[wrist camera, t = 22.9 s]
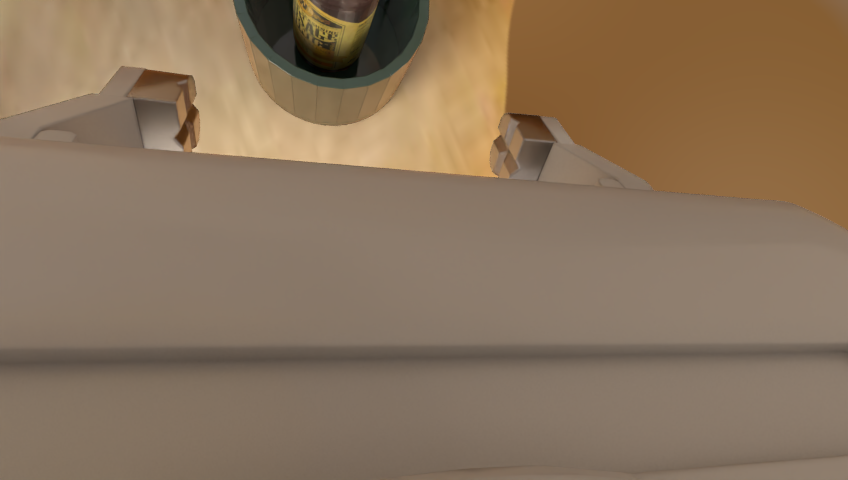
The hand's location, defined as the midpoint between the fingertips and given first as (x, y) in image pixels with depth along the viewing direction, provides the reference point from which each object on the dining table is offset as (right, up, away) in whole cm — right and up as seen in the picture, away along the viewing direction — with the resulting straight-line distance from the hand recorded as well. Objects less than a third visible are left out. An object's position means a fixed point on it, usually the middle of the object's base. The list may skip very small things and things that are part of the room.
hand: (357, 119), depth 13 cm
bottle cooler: (-7, +15, +32) cm, 36 cm away
